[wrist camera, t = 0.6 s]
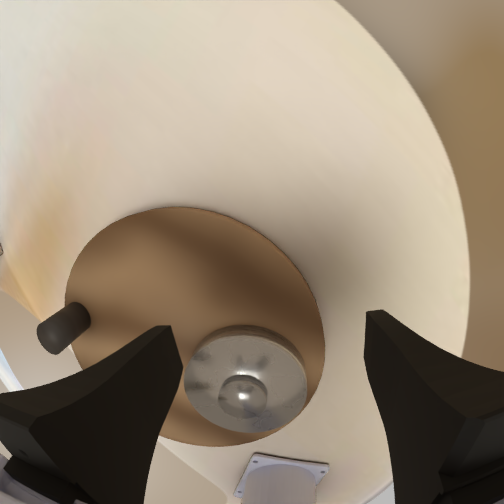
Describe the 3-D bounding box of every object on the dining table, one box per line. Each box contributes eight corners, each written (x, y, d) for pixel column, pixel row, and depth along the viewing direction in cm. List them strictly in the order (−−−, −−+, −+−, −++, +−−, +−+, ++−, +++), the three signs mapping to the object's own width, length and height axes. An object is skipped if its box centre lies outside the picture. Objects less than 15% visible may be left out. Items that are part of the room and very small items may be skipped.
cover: (285, 423, 21) (284, 451, 18) (184, 397, 22) (173, 423, 19) (322, 341, 19) (327, 367, 16) (201, 309, 19) (188, 331, 17)
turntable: (276, 455, 24) (272, 500, 19) (79, 389, 25) (51, 421, 20) (364, 253, 19) (390, 281, 14) (83, 180, 20) (33, 186, 14)
